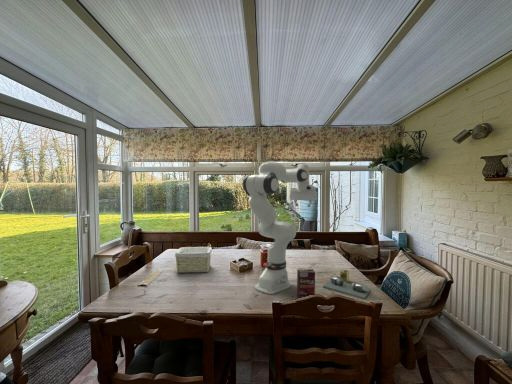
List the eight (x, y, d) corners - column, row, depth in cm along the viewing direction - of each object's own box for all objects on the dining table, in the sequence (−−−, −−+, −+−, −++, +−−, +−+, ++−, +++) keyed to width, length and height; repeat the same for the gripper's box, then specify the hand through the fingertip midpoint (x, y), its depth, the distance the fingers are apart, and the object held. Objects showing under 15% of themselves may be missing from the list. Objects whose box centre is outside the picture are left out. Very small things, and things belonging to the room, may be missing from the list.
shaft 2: (368, 291, 132) (368, 283, 132) (366, 294, 128) (366, 286, 128) (354, 287, 137) (354, 280, 137) (352, 290, 133) (352, 283, 133)
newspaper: (147, 287, 141) (147, 284, 141) (135, 287, 141) (135, 284, 141) (162, 272, 165) (162, 270, 165) (152, 272, 165) (152, 270, 165)
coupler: (346, 283, 145) (346, 272, 145) (340, 281, 148) (340, 270, 147) (349, 280, 149) (349, 270, 149) (342, 279, 151) (342, 268, 151)
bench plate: (364, 299, 125) (364, 297, 125) (323, 287, 139) (323, 285, 139) (370, 290, 135) (370, 289, 135) (331, 280, 149) (331, 279, 149)
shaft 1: (343, 285, 140) (343, 278, 140) (337, 286, 138) (338, 279, 138) (334, 280, 147) (334, 274, 147) (328, 282, 145) (328, 275, 145)
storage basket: (212, 265, 178) (212, 246, 178) (209, 273, 162) (209, 252, 162) (180, 266, 176) (180, 246, 176) (174, 274, 160) (174, 253, 160)
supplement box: (298, 302, 121) (299, 272, 121) (296, 298, 126) (296, 269, 125) (315, 302, 121) (315, 272, 121) (312, 297, 126) (312, 268, 126)
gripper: (288, 187, 170) (287, 206, 170) (314, 187, 157) (314, 207, 158) (292, 187, 175) (292, 205, 175) (318, 187, 162) (318, 207, 163)
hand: (302, 206), depth 166 cm, fingers open, 8 cm apart
